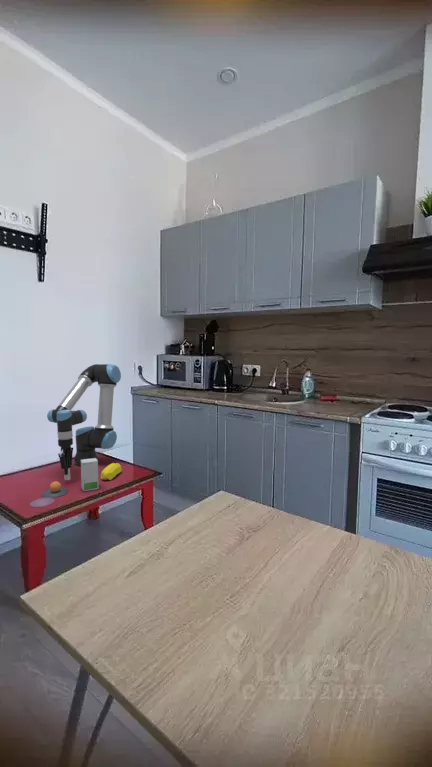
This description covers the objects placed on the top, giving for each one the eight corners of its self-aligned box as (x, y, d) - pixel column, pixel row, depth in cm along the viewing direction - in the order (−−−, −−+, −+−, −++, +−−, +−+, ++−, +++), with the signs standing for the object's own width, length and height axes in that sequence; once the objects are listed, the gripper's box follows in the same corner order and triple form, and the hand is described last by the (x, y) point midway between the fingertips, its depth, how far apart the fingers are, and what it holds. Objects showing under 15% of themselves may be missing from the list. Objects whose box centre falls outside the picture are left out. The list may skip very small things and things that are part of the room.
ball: (51, 493, 195) (54, 483, 198) (61, 493, 194) (64, 483, 197) (46, 490, 190) (49, 479, 193) (56, 490, 190) (59, 480, 193)
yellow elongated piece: (124, 471, 225) (112, 471, 226) (123, 460, 224) (111, 460, 226) (111, 482, 207) (98, 481, 209) (110, 470, 207) (97, 470, 208)
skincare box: (82, 491, 194) (81, 463, 192) (81, 487, 199) (79, 459, 198) (99, 488, 197) (98, 460, 196) (97, 484, 203) (95, 457, 202)
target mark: (49, 487, 200) (49, 487, 200) (72, 488, 199) (72, 487, 199) (35, 497, 187) (35, 497, 187) (60, 498, 186) (60, 497, 186)
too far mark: (37, 497, 187) (37, 497, 187) (58, 498, 186) (58, 497, 186) (24, 507, 176) (24, 506, 176) (47, 507, 175) (47, 507, 175)
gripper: (64, 435, 211) (66, 475, 213) (52, 441, 198) (55, 483, 200) (77, 435, 210) (79, 475, 213) (66, 441, 197) (68, 484, 200)
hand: (67, 479), depth 206 cm, fingers closed
